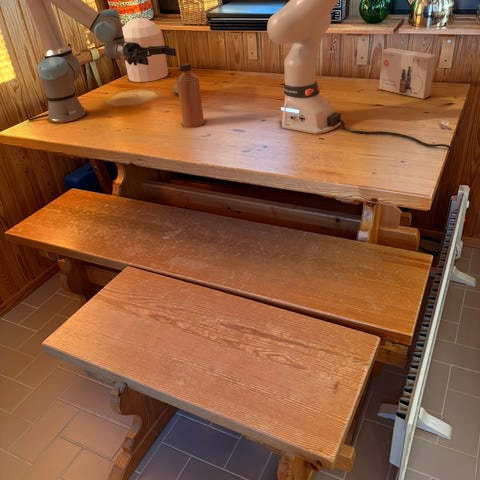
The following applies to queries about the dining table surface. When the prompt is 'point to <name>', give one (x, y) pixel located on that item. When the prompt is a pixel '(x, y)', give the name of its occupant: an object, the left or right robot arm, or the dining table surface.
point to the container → (148, 36)
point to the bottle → (190, 99)
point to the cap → (185, 67)
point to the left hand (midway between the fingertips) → (161, 56)
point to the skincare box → (407, 72)
